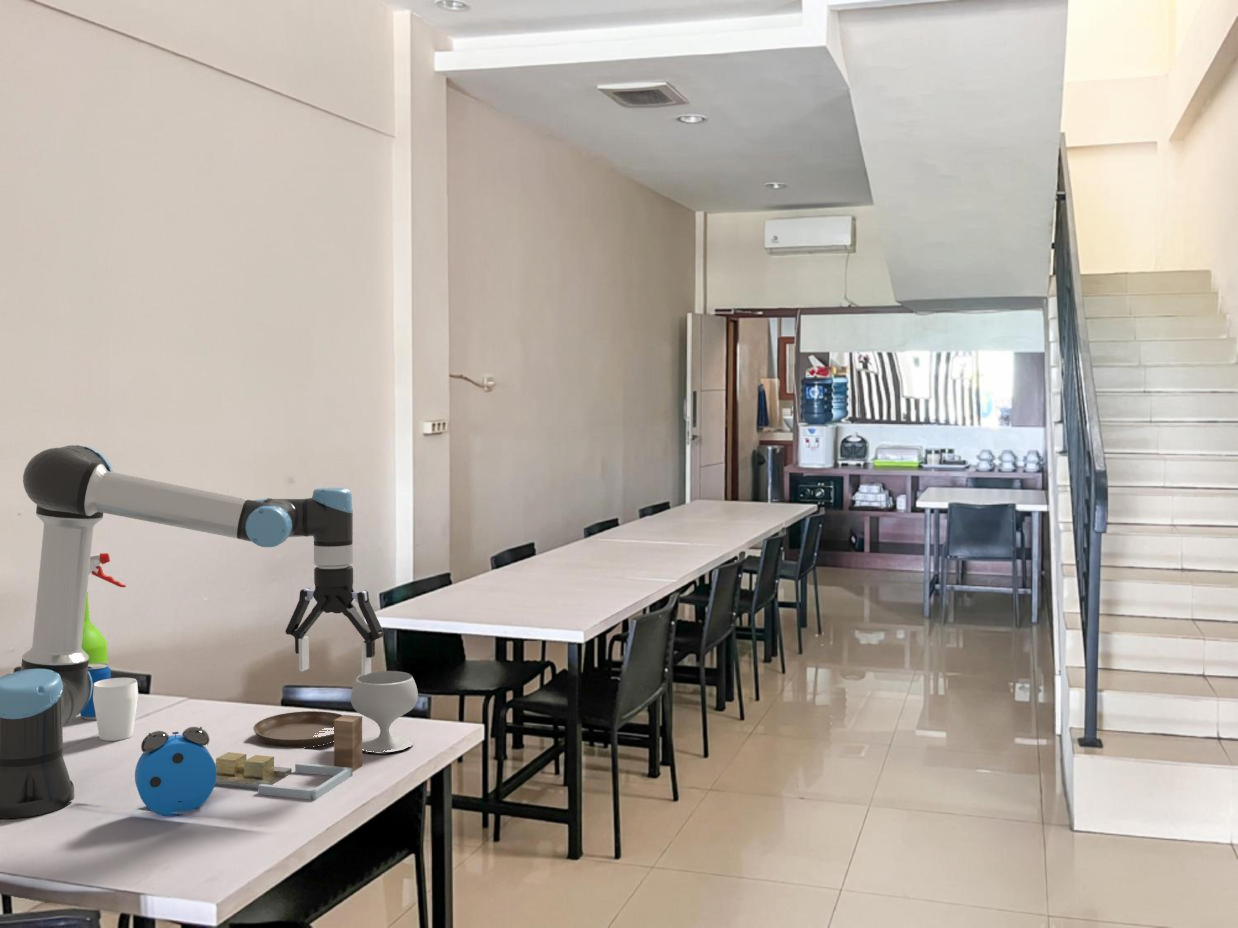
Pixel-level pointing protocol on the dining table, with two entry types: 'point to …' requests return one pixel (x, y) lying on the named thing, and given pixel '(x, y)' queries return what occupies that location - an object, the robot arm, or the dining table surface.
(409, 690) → the chalice
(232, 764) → the chip
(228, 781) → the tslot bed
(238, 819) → the dining table surface
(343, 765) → the brown wooden block
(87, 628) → the spray bottle
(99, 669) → the beverage can
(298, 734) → the plant saucer
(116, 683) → the cup
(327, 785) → the tray
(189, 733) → the alarm clock
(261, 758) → the chip
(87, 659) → the robot arm
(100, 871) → the dining table surface
